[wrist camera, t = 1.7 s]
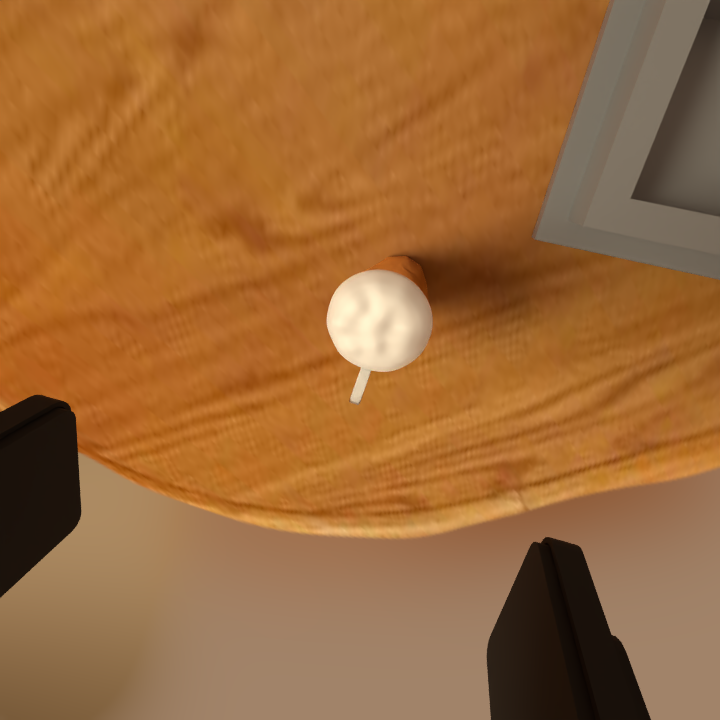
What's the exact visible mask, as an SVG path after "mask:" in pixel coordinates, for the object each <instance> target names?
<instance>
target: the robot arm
mask: <svg viewBox="0 0 720 720" xmlns="http://www.w3.org/2000/svg"><path fill="white" fill-rule="evenodd" d="M80 517H81V499H80V482H79V465H78V448H77V431H76V417H75V414H74V413H73V412H72V411H71V408H70V406H69V405H68V403H66V402H64V401H60V400H57V399H53V398H50V397H46V396H43V395H34V396H31V397H29V398H27V399H25V400H23V401H21V402H19V403H17V404H15V405H13V406H11V407H9V408H8V409H6V410H4V411H2V412H0V597H2V596H3V595H4V593H6V592H7V591H8V590H9V589H10V588H11V587H12V586H13V585H15V584H16V583H17V582H18V581H19V580H20V579H21V578H22V577H23V576H24V575H25V574H26V573H27V572H28V571H30V570H31V569H32V568H33V567H34V566H35V565H36V564H37V563H38V562H39V561H40V560H41V559H43V558H44V557H45V556H46V555H47V554H48V553H49V552H50V551H51V550H52V549H53V548H54V547H56V546H57V545H58V544H59V543H60V542H61V541H62V540H63V539H64V538H65V537H66V536H67V535H68V534H70V533H71V532H72V531H73V529H74V528H75V527H76V526H77V524H78V522H79V520H80ZM487 667H488V668H487V669H488V682H489V696H490V712H491V720H651V719H650V716H649V713H648V711H647V708H646V705H645V702H644V700H643V697H642V694H641V691H640V689H639V686H638V683H637V681H636V678H635V675H634V673H633V669H632V667H631V664H630V661H629V659H628V656H627V653H626V651H625V649H624V647H623V645H622V643H621V642H620V641H619V639H618V638H617V637H616V636H613V635H611V632H610V629H609V627H608V624H607V621H606V618H605V615H604V612H603V610H602V606H601V603H600V601H599V598H598V595H597V592H596V589H595V586H594V583H593V580H592V577H591V575H590V572H589V569H588V566H587V563H586V560H585V557H584V554H583V552H582V550H581V548H580V547H579V546H578V545H575V544H571V543H568V542H564V541H561V540H557V539H553V538H550V537H546V538H544V539H543V541H542V542H541V543H538V542H533V543H532V544H531V546H530V548H529V550H528V553H527V555H526V557H525V559H524V561H523V564H522V566H521V568H520V570H519V573H518V575H517V577H516V580H515V582H514V584H513V586H512V588H511V591H510V593H509V595H508V597H507V600H506V602H505V604H504V607H503V609H502V611H501V613H500V615H499V618H498V620H497V622H496V624H495V627H494V629H493V631H492V633H491V636H490V639H489V642H488V648H487Z"/></svg>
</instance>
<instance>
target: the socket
mask: <svg viewBox="0 0 720 720" xmlns="http://www.w3.org/2000/svg"><path fill="white" fill-rule="evenodd" d="M532 238H534V239H535V240H540V241H544V242H549V243H553V244H558V245H563V246H567V247H572V248H576V249H581V250H586V251H590V252H595V253H599V254H604V255H609V256H613V257H618V258H622V259H627V260H632V261H636V262H641V263H645V264H650V265H655V266H659V267H664V268H668V269H673V270H678V271H682V272H687V273H691V274H696V275H701V276H705V277H710V278H714V279H719V280H720V0H610V2H609V5H608V8H607V11H606V14H605V17H604V20H603V23H602V27H601V30H600V33H599V36H598V39H597V42H596V45H595V48H594V51H593V54H592V57H591V60H590V63H589V66H588V69H587V72H586V75H585V78H584V81H583V84H582V87H581V90H580V93H579V96H578V99H577V102H576V105H575V108H574V111H573V114H572V117H571V120H570V123H569V126H568V129H567V132H566V135H565V138H564V141H563V144H562V147H561V150H560V153H559V156H558V159H557V162H556V165H555V168H554V171H553V174H552V177H551V180H550V183H549V186H548V189H547V192H546V195H545V198H544V201H543V204H542V207H541V211H540V214H539V217H538V220H537V223H536V226H535V229H534V232H533V235H532Z"/></svg>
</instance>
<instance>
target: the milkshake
mask: <svg viewBox="0 0 720 720" xmlns="http://www.w3.org/2000/svg"><path fill="white" fill-rule="evenodd" d="M432 323H433V321H432V312H431V308H430V304H429V300H428V289H427V282H426V279H425V276H424V273H423V270H422V268H421V266H420V265H419V264H417V263H416V262H414V261H413V260H411V259H410V258H409V257H407V256H392V257H387V258H385V259H384V260H382V261H381V262H379V263H377V264H376V265H374V266H373V267H371V268H369V269H367V270H364V271H362V272H360V273H358V274H356V275H354V276H352V277H350V278H348V279H347V280H346V281H344V282H343V283H342V284H341V285H340V286H339V287H338V288H337V290H336V291H335V293H334V295H333V297H332V299H331V302H330V305H329V309H328V314H327V327H328V331H329V334H330V336H331V338H332V340H333V343H334V345H335V347H336V348H337V350H338V351H339V353H340V354H341V355H342V356H343V357H344V358H345V359H347V360H348V361H349V362H351V363H353V364H355V365H357V366H359V367H361V369H360V372H359V375H358V378H357V380H356V383H355V386H354V388H353V391H352V394H351V397H350V399H349V402H351V403H354V404H357V405H359V404H360V401H361V399H362V396H363V393H364V390H365V387H366V384H367V381H368V378H369V376H370V373H371V370H372V371H379V372H388V371H394V370H397V369H400V368H402V367H404V366H406V365H408V364H409V363H411V362H412V361H414V360H415V359H416V358H417V357H418V356H419V355H420V354H421V353H422V352H423V350H424V348H425V347H426V345H427V343H428V340H429V338H430V335H431V331H432Z"/></svg>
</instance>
